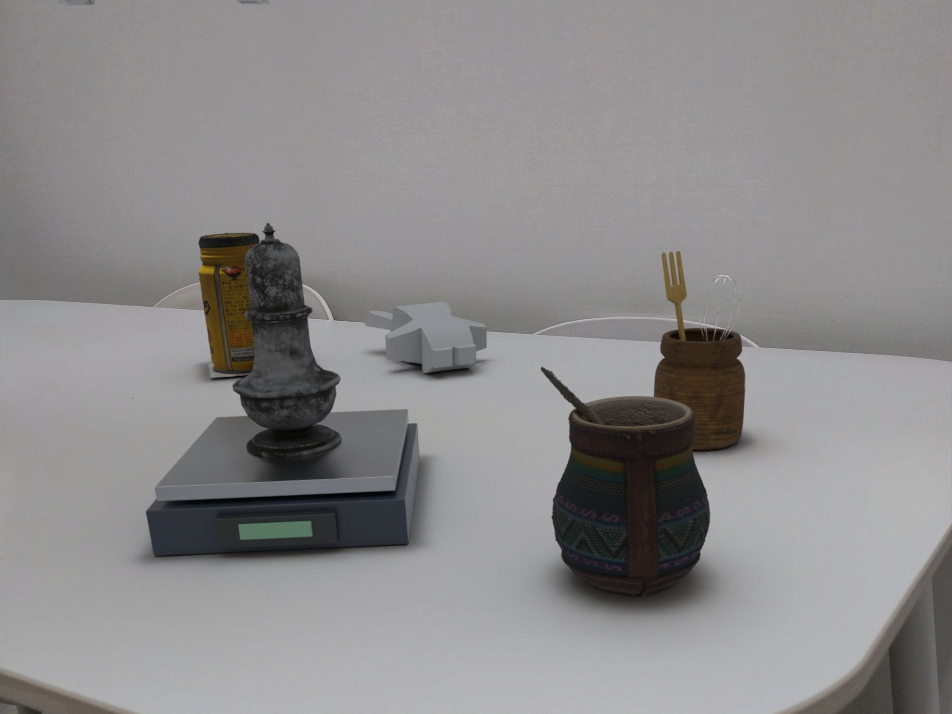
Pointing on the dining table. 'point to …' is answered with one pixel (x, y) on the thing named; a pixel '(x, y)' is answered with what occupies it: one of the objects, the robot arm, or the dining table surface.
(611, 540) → the mate gourd
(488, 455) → the dining table surface
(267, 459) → the scale pan
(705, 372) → the utensil holder
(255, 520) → the scale
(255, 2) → the robot arm
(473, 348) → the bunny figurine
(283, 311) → the salt shaker
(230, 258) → the condiment
